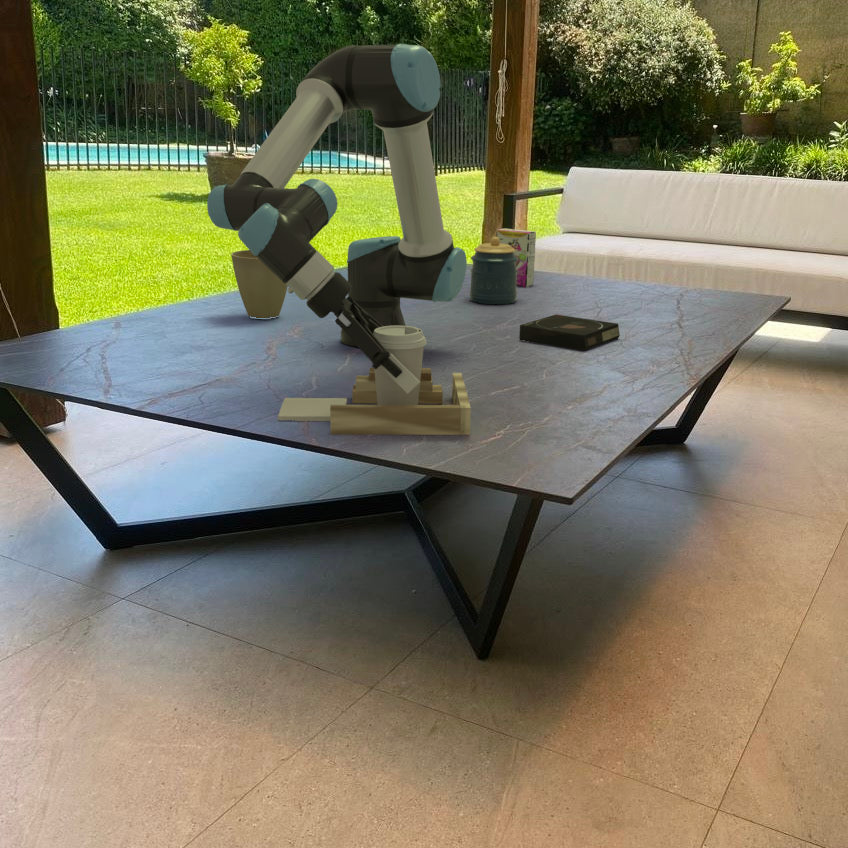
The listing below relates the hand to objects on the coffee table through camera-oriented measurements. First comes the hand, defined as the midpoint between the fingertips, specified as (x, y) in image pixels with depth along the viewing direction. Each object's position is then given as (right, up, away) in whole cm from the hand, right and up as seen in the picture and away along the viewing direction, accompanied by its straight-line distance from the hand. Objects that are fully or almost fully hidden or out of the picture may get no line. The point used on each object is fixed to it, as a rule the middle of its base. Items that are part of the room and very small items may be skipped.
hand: (413, 377), depth 164 cm
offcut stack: (-3, -3, +12) cm, 13 cm away
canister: (+21, +26, +106) cm, 111 cm away
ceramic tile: (-17, -6, +4) cm, 19 cm away
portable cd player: (+35, +11, +61) cm, 72 cm away
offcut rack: (-3, -6, +3) cm, 7 cm away
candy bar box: (+29, +34, +132) cm, 140 cm away
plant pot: (-38, +19, +80) cm, 91 cm away
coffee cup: (-3, -7, +2) cm, 8 cm away
